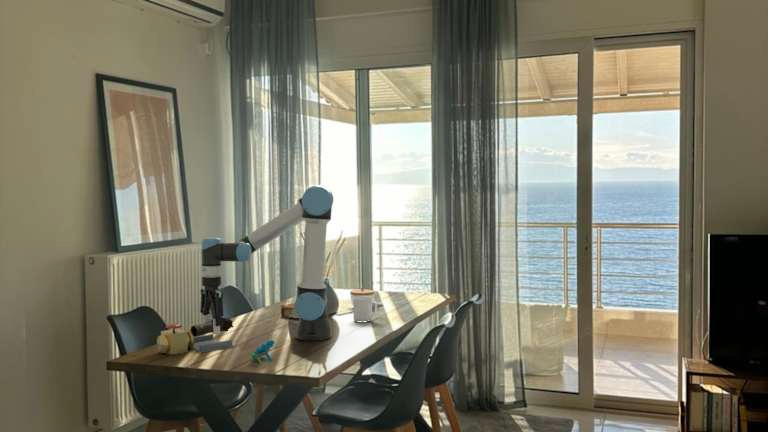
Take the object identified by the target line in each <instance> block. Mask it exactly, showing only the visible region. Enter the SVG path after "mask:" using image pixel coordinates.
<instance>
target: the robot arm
mask: <svg viewBox="0 0 768 432" xmlns="http://www.w3.org/2000/svg"><path fill="white" fill-rule="evenodd" d="M333 203H334V195H333V192H332V191H331V190H330V189H329V188H328V187H326V186H323V185H320V184H318V185H311V186H309V187H307V189H306V190H305V191H304V192H303V195H302V197H300V198H299V199H298V200H297V202H296V204H294V205H292V206H291V207H289V208H288V209H286V210H285V211H283V212H281V213H280V214H278V215H276V217H274V218H272V219H271V220H268V222H266V223H264V224H263V225H261V226H260V227H258V228H257V229H255V230H253V231H252V232H251V233H249V234H248V235H246V236H244V237H242V238H240V239H239V240H238V241H236V242H222V239H221V238H220V237H205V238H203V239H202V240H201V269H200V270H201V276H202V277H201V286H202V287H204V288H201V289H200V308H199V312H200V313H201V314H202V316H203V324H206V323H211V307H212V310H213V311H212V312H213V316H212V320H213V332H212V334H213V335H219V334H221V332H220V318H221V317H223V318H224V304H223V295H224V292H223V291H220V290H219V286H220V287H221V285H222V276H221V275H222V262H236V263H237V262H239V263H243V262H250V260H251V259H252V254H253V253H256V252H257V251H258V250H260V249H261V248H263V247H264V246H266V245H267V244H269V243H271V242H272V241H274V240H275V239H277V238H278V237H280V236H282V235H283V234H285V233H286V232H288V231H289V230H291V229H292V228H294V227H296V226H298V225H299V224H300V223H302V222H305V224H304V225H305V226H304V239H303V241H304V242H303V253H302V255H303V256H302V258H303V259H302V269H301V270H302V271H301V280H300V282H299V283H298V284H297V286H296V299H295V302H294V304H295V310H296V313H297V314H298V316H299V317H300V319H298V320H299V321H298V324H297V327H296V331H295V339H297V340H300V341H314V342H315V341H325V340H328V339H330V338H331V337H332V329H331V327H330V323H329V321H328V316H327V302H328V294H327V293H328V286H327V285H326V283H324V281H323V280H324V269H325V253H326V252H325V251H326V241H327V225H328V223H330V221H331V220H332V210H333V209H332V208H333Z"/></svg>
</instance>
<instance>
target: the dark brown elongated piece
mask: <svg viewBox="0 0 768 432" xmlns="http://www.w3.org/2000/svg"><path fill="white" fill-rule="evenodd" d="M210 322H211V323H206V324H204V323H201V324H195V325H192V326H190V330H191V331H192V333H193V335H194V337H198V336H204V335H209V334H213V319H212V320H210ZM233 323H234V321H233V320H232V319H230V318H226V317H224V316H223V317H221V318H220V333H222V332H229V329H231V328H234V325H233Z"/></svg>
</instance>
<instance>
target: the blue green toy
mask: <svg viewBox="0 0 768 432" xmlns="http://www.w3.org/2000/svg"><path fill="white" fill-rule="evenodd" d="M275 343H276V342H275V341H274V339H270V340H267V341H266V343H262V344H261V346H260V347H257V348H256V349H255V351H252V352H251V353H250V355H251V358H252V359H253V360H257V361H258V362H259V363H260V364H261V363H262V362H263V361H262V359H260V357H263V356H266V358H267V360H269V361H272V360H273V358H272V357H271V355H269V353H268V352H269V351H270V348H273V347H274V345H275Z"/></svg>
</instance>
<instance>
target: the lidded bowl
mask: <svg viewBox="0 0 768 432" xmlns="http://www.w3.org/2000/svg"><path fill="white" fill-rule="evenodd" d="M360 296H366V297H372V302H373V301H375V299H374V298H375V290H373V289H367V288H366V289H364V287H361V288H360V289H359V288H358V289H352V290H350V301H351V304H352V305H353V298H354V297H360ZM373 304H374V303H372V305H373Z"/></svg>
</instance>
